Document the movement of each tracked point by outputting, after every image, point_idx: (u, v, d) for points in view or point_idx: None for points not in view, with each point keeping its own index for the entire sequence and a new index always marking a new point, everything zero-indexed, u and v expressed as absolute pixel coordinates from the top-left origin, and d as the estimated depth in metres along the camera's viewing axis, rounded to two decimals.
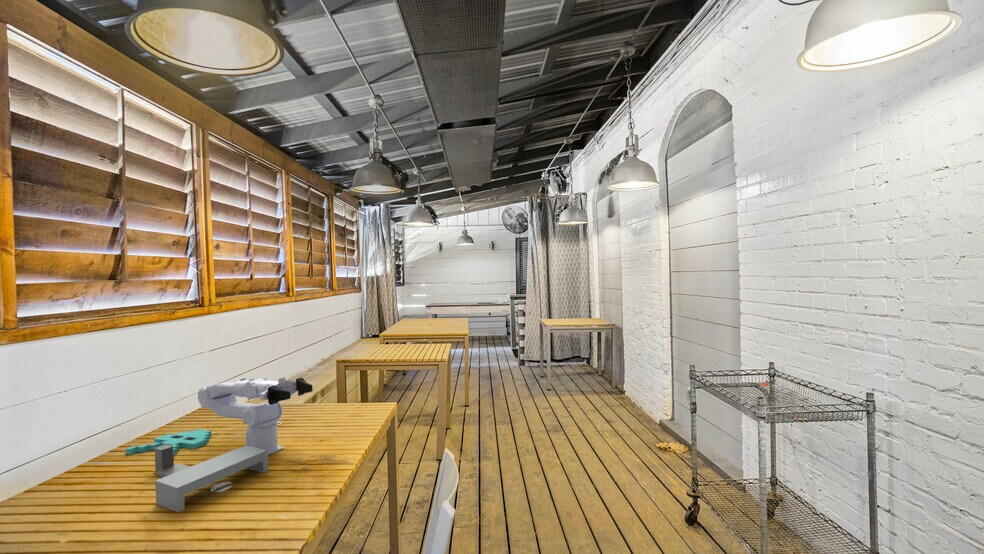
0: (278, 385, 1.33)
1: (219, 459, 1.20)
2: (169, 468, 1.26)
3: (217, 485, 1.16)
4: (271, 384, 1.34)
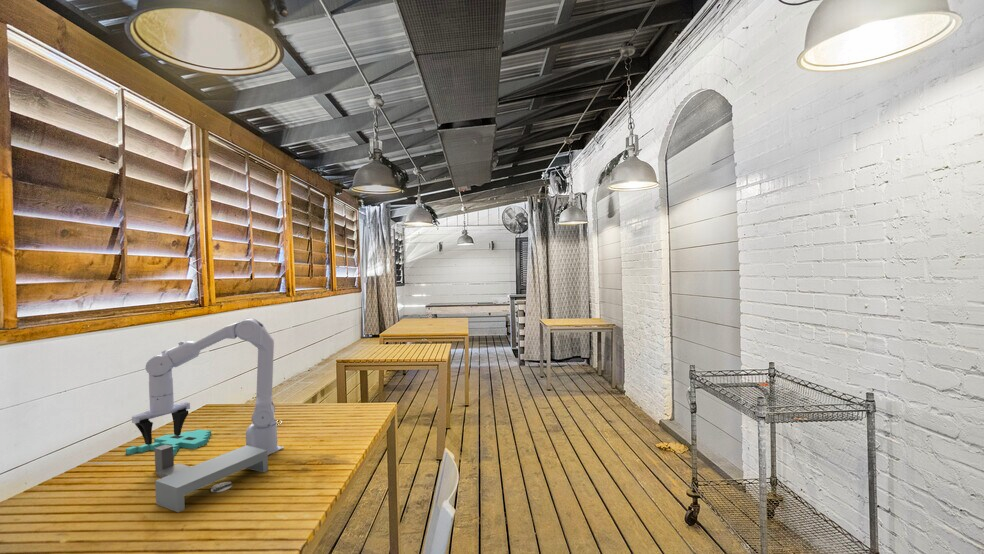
0: None
1: (219, 459, 1.20)
2: (169, 468, 1.26)
3: (217, 485, 1.16)
4: None
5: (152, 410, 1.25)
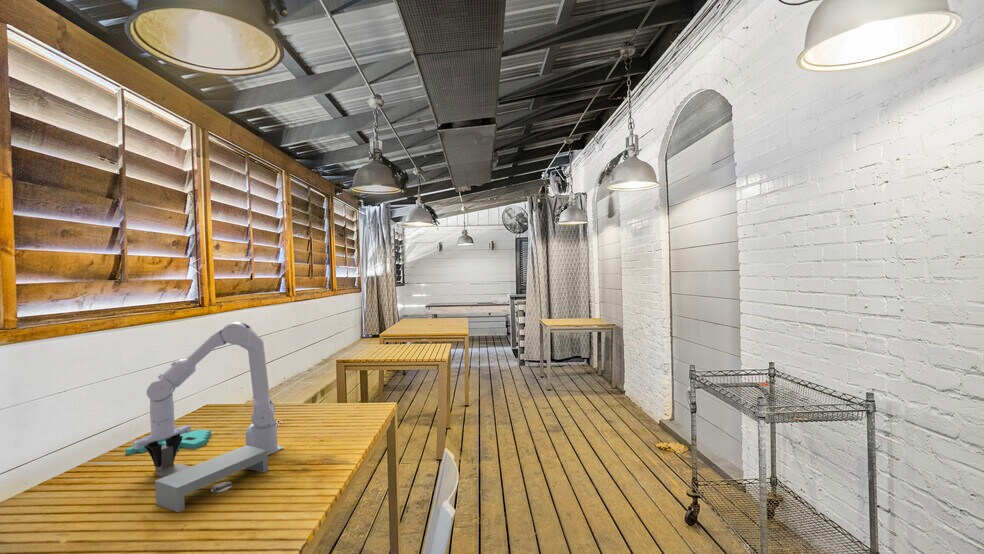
0: None
1: (219, 459, 1.20)
2: (169, 468, 1.26)
3: (217, 485, 1.16)
4: None
5: (153, 434, 1.25)
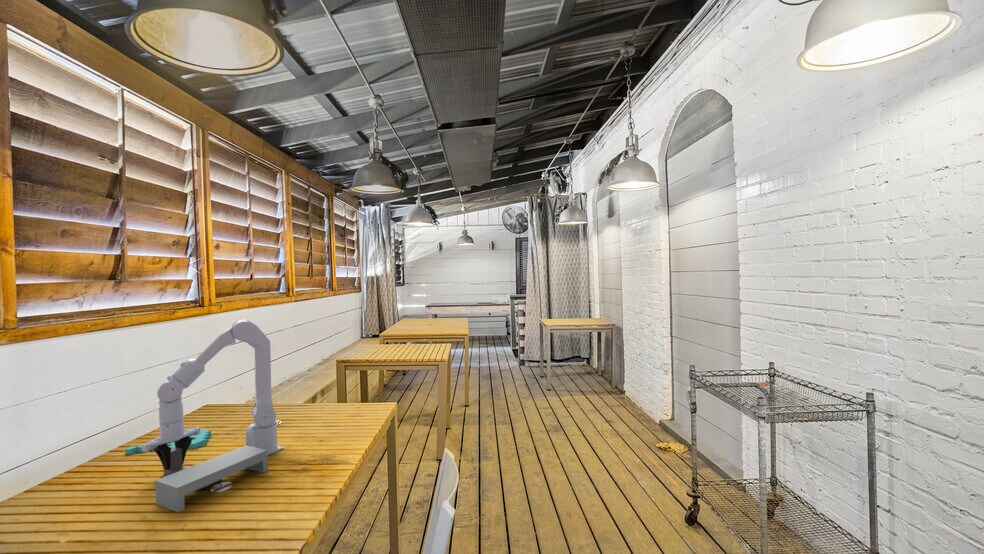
0: None
1: (219, 459, 1.20)
2: (178, 471, 1.24)
3: (217, 485, 1.16)
4: None
5: (162, 437, 1.23)
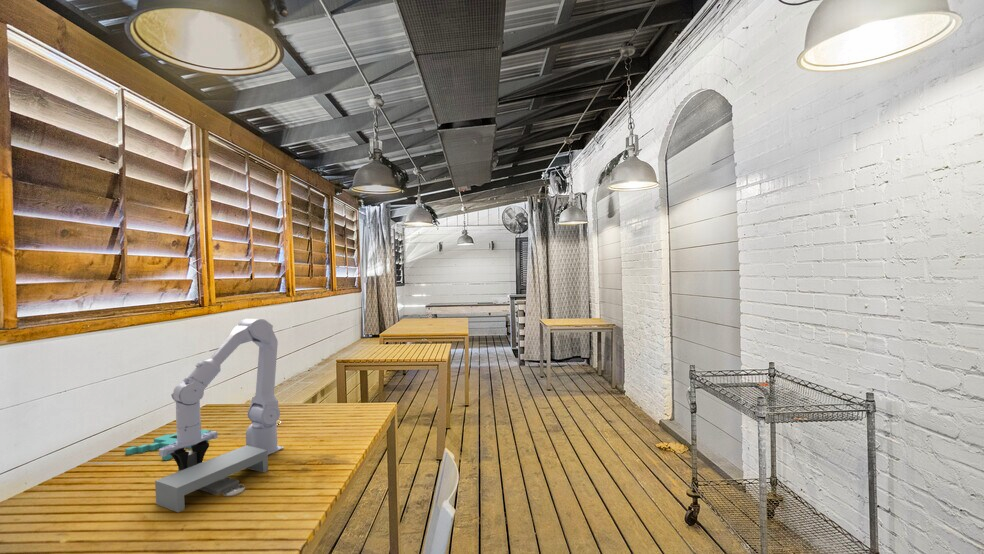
0: None
1: (219, 459, 1.20)
2: None
3: (229, 488, 1.14)
4: None
5: (180, 441, 1.19)
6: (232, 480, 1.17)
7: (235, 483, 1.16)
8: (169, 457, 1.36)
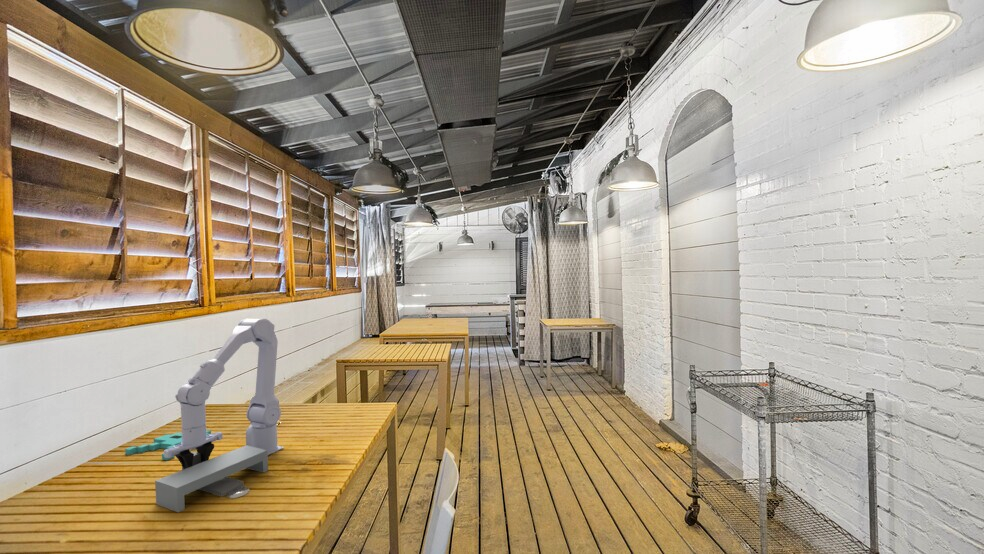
0: None
1: (219, 459, 1.20)
2: None
3: (234, 490, 1.13)
4: None
5: (185, 442, 1.18)
6: (237, 481, 1.16)
7: (240, 484, 1.15)
8: None
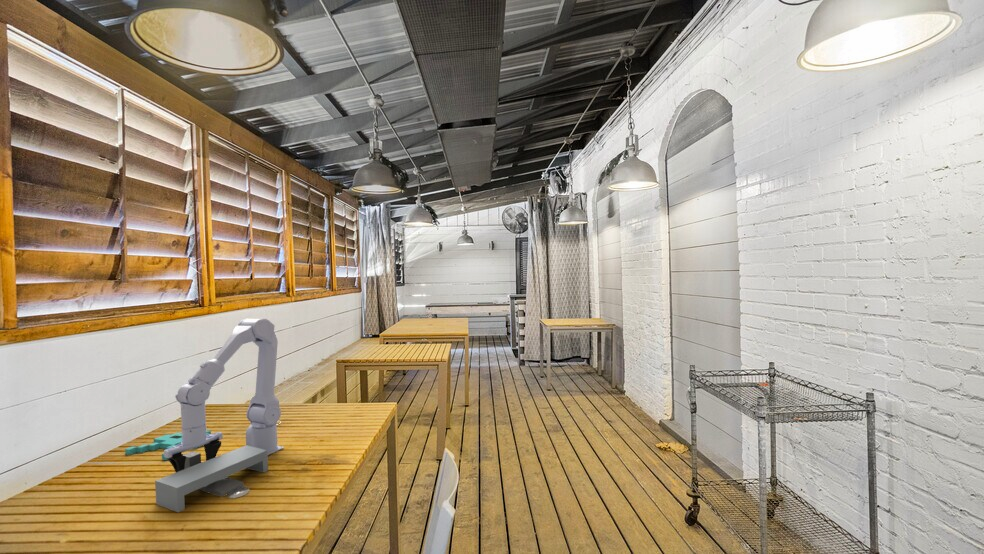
0: None
1: (219, 459, 1.20)
2: None
3: (234, 490, 1.13)
4: None
5: (185, 442, 1.18)
6: (237, 482, 1.16)
7: (240, 485, 1.15)
8: None
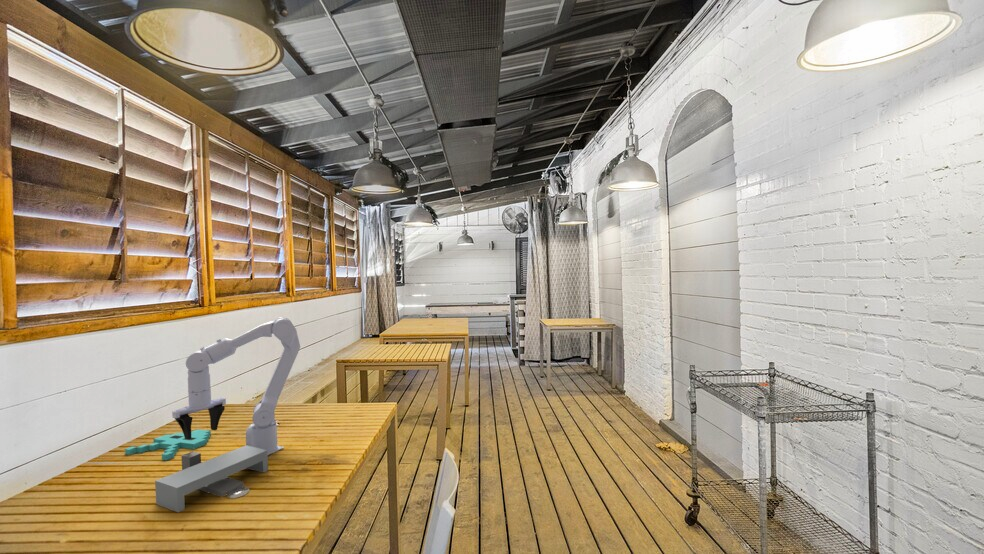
0: None
1: (219, 459, 1.20)
2: None
3: (234, 490, 1.13)
4: None
5: (191, 405, 1.29)
6: (237, 482, 1.16)
7: (240, 485, 1.15)
8: (169, 457, 1.36)
